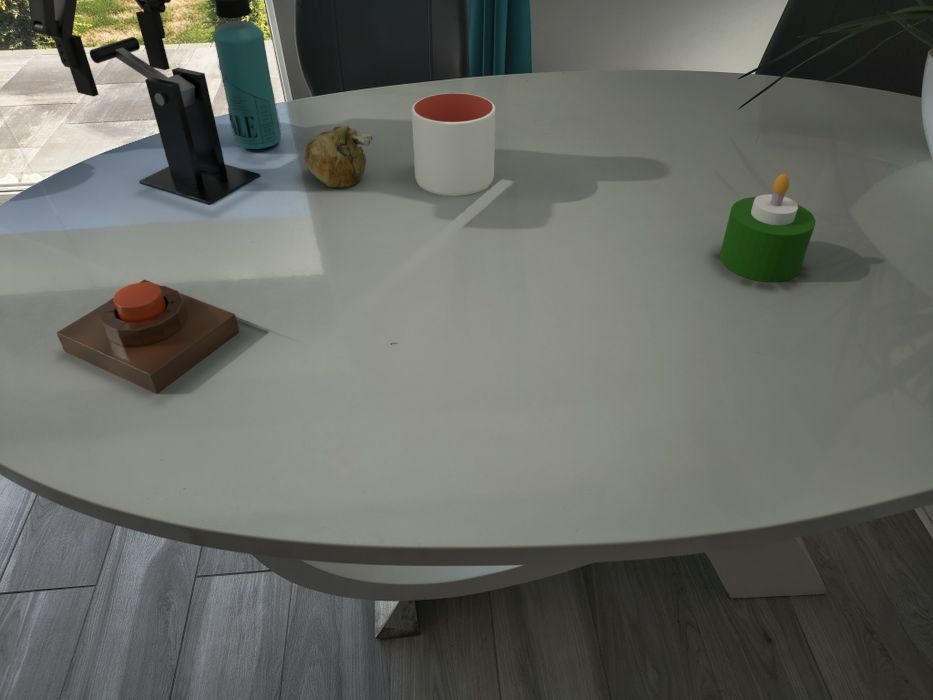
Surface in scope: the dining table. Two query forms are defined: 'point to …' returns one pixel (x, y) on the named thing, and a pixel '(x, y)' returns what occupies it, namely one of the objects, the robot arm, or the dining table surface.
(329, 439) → the dining table surface
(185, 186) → the bracket
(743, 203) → the candle
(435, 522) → the dining table surface
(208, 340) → the button block
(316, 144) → the onion
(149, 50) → the robot arm
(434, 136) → the cup
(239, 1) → the beverage bottle
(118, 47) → the lever
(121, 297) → the button
